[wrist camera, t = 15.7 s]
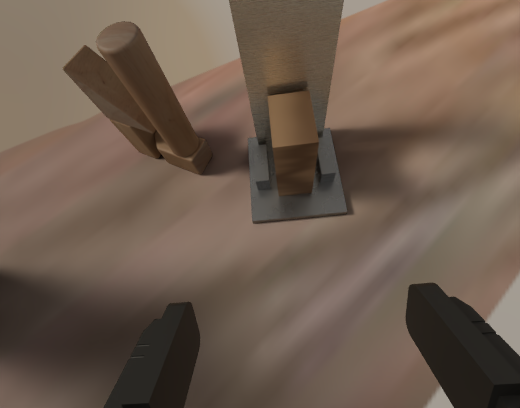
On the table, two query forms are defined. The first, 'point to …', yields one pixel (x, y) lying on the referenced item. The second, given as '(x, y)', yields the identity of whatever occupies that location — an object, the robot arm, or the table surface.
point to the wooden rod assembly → (138, 97)
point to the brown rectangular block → (293, 141)
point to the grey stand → (288, 81)
